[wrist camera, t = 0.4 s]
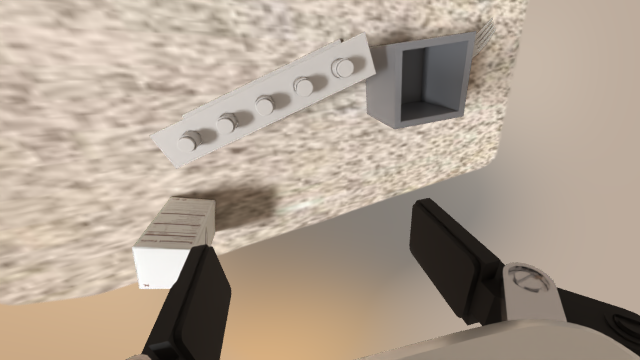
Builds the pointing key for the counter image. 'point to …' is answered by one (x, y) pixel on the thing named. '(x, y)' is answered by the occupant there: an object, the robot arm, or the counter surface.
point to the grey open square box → (420, 80)
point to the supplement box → (172, 240)
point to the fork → (475, 50)
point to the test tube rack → (266, 100)
